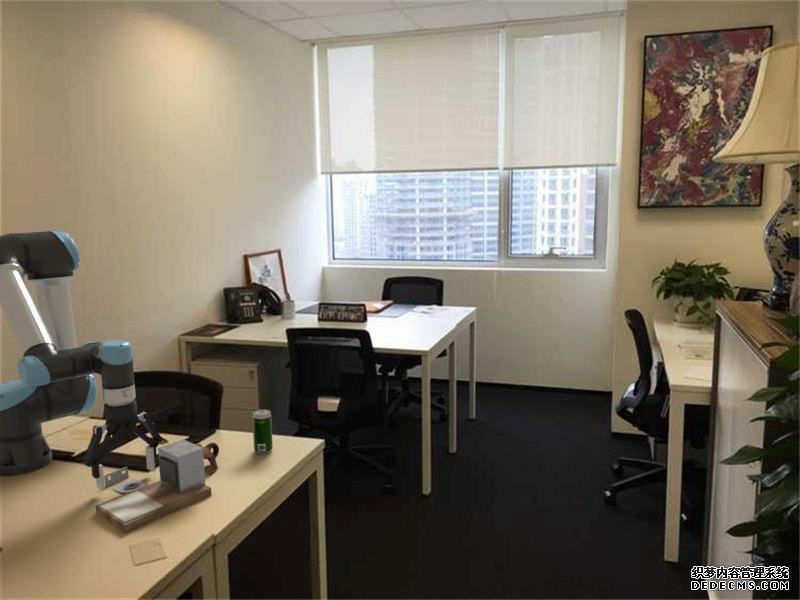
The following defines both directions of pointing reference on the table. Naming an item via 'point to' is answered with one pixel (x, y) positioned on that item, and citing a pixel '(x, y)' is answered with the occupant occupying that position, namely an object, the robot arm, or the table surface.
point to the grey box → (181, 466)
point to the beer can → (262, 431)
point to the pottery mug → (210, 456)
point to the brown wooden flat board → (147, 505)
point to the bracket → (124, 487)
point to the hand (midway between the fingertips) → (126, 478)
